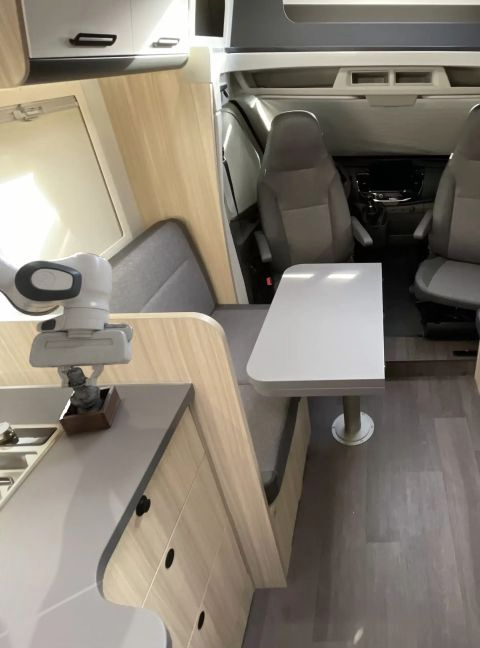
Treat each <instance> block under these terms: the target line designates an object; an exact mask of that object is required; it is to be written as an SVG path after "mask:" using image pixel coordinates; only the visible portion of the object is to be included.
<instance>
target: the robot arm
mask: <svg viewBox="0 0 480 648" xmlns="http://www.w3.org/2000/svg"><path fill="white" fill-rule="evenodd" d="M113 275H114V273H113V267H112V264H111V262H109V261H108V260H107V259H105V258H104V257H103V256H100V255H98V254H94V253H90V252H77V253H75V254H73V255H69V256H67V257H63V258H58V259H49V260H34V261H30V262H28V263H25V264H23V265H22V266H21V267H20V266H19V265H16V264H15V263H13V262H12V261H10V260H9V259H7V258H5V257H4V256H2V255H1V254H0V293H1V294H2V295H3V296H4V297H5V298H6V300H7V301H8V302H9V304H10V305H11V306H12V307H13V308H14V309H15V310H16V311H17V312H19V313H20V314H23V315H26V316H30V317H42V316H47V315H49V314H52V313H54V312H55V311H57V310H58V309H59V308H60V307H63V309H62V310H63V311H62V314H59V315H56V316H54V317H51V318H48V319H45V320H42V321H39V322H38V323H37V324H36V327H35V329H36V331H37V332H38V334H36V335H35V336H34V338H33V339H32V343H31V347H30V352H29V357H28V361H29V365H30V366H31V367H32V368H36V369H51V368H52V369H53V368H57V371H56V372H57V374H58V376H59V377H60V380H61V387H60V388H63V389H69V388H70V389H72V388H71V387H70V386H69V384H70V381H69V379H68V377H67V372H68V370H70V369H71V368H70V367H71V366H74V367H91V370H92V373H91V374H90V376H89V377H88V378H86V383H85V386H86V387H92V386H97V384H98V378H99V377H100V376H101V375H102V373H103V372H104V370H105V366H113V365H128V364H129V363H130V362H131V361H132V359H133V344H132V339H133V336H134V329H133V327H132V326H131V325H130V324H128V323H127V322H120V323H113V322H112V323H111V322H110V316H111V309H110V300H111V297H112V295H113V283H114V282H113V281H114V280H113V279H114V276H113ZM108 315H110V316H108Z"/></svg>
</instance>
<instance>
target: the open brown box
mask: <svg viewBox="0 0 480 648" xmlns="http://www.w3.org/2000/svg"><path fill="white" fill-rule="evenodd" d="M99 388H100V398H101V399H103V401H104V404H103V406H102V407H101V408H100V409H99V410H98V411H96V412H89V413H83V414H78V413H77V408H78V407H76V406H75V405H74V404H72V403H71V402H70V398H68V401H67V403H66V405H65V406H64V409H63V411H62V413H61V414H60V417H59V419H58V421H59V423H60V425H61V427H62V428H63V430H64V433H65V434H66V435H67V436H71V435H76V434H82V433H87V432H94V431H99V430H105V429H110V428H112V425H113V422H114V420H115V418H116V414H117V411H118V409H119V406H120V404H121V400H122V399H121V396H120V394H119V393H118V390H117V387H116V385H115V384H114V385H108V386H101V387H99ZM73 393H74V391H73V392H72V393H71V395H70V397H71V396H72V394H73Z"/></svg>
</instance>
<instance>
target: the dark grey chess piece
mask: <svg viewBox="0 0 480 648" xmlns="http://www.w3.org/2000/svg"><path fill="white" fill-rule="evenodd" d="M67 377H68V379H69V381H70V384H69V386H70V387H71V388H70V389H72V390H73V392H74V393H73V392H72V393H73V394H72V393H71V395H72V396H71V395H70V397H69V399H70V402H71V403H72V404H74V405H75V406H76V407H78V408H77V413H78V414H83V413H89V412H96V411H98V410H99V409H100V408H101V407H102V406H103V404H104V401H103V399H101V398H100V387H99V386H97V385H96V386H92V387H86V386H85V383H86V378H89V377H88V376H86V375H85V372H84V371H83V368H82V367H81V366H75V367H74V366H71V367H70V370H68V372H67Z"/></svg>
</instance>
